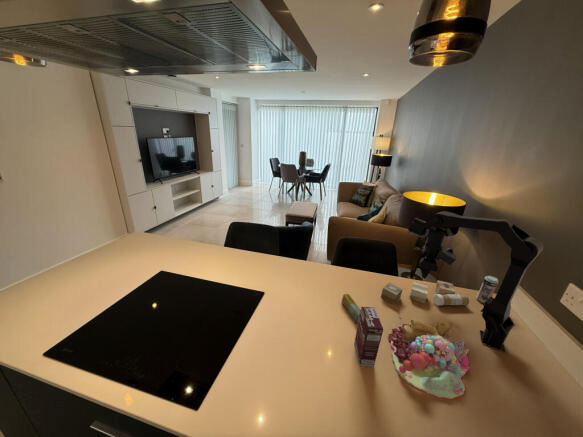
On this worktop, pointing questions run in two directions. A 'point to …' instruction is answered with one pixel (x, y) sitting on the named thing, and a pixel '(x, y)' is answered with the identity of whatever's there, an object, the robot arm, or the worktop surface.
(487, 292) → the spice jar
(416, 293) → the plain birch block
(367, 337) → the supplement box
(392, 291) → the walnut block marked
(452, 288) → the oak block marked
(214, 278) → the worktop surface
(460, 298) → the granule seasoning jar
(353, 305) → the medication box
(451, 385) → the pastel sphere sculpture
